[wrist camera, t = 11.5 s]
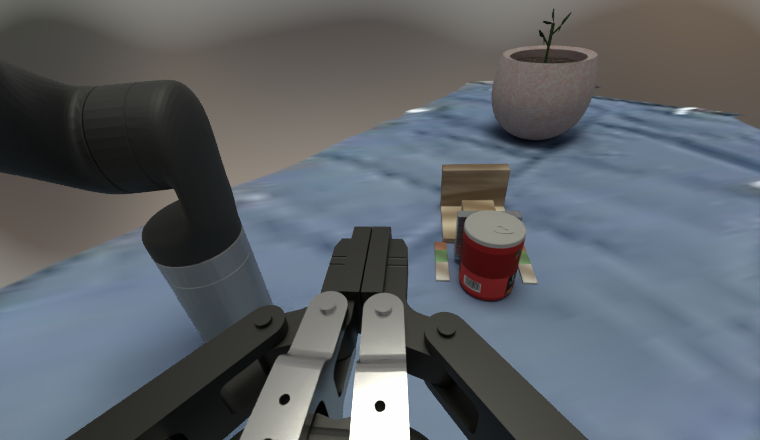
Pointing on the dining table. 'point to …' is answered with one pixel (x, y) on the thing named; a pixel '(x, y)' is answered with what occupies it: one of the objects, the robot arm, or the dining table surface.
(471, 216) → the canned food
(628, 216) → the dining table surface
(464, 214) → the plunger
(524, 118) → the plant pot
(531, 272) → the wooden stand
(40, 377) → the dining table surface
